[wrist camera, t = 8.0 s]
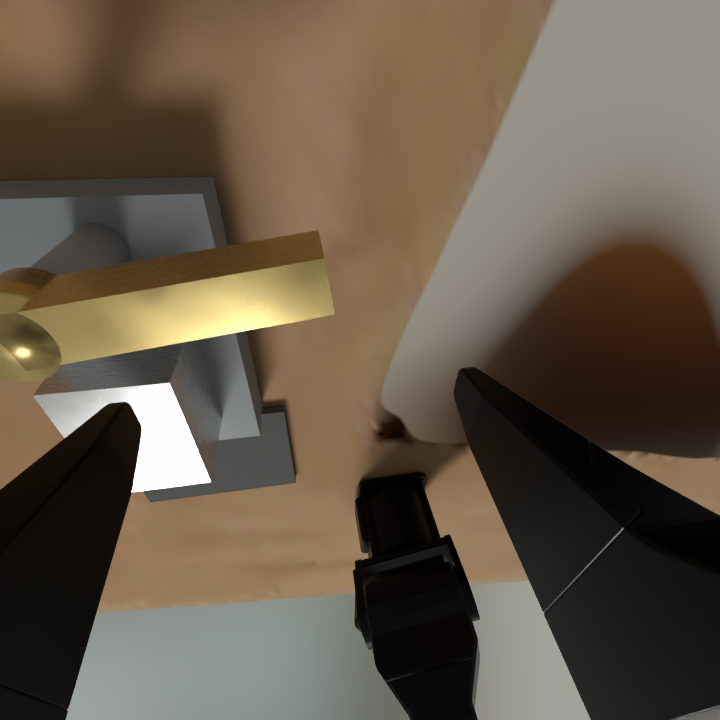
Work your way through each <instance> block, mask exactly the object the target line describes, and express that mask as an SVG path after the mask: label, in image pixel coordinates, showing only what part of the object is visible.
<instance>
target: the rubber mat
mask: <svg viewBox="0 0 720 720" xmlns="http://www.w3.org/2000/svg"><path fill="white" fill-rule="evenodd" d="M290 483H296V477H295V470H294V464H293V458H292V452H291V446H290V440H289V434H288V428H287V422H286V415H285V409H284V406H279V407H270V408H262V413H261V430H260V436H252V437H244V438H235V439H226V440H218V445H217V450H216V456H215V462H214V468H213V474H212V479H211V482H207V483H199V484H192V485H184V486H176V487H169V488H161V489H153V490H145V491H143V492H144V493H145V495H146V496H147V498H148V499H149V501H150V502H157V501H164V500H171V499H179V498H186V497H194V496H201V495H209V494H216V493H224V492H231V491H238V490H246V489H253V488H261V487H268V486H276V485H283V484H290Z"/></svg>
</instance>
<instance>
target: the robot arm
mask: <svg viewBox="0 0 720 720" xmlns="http://www.w3.org/2000/svg"><path fill="white" fill-rule="evenodd" d="M454 398H455V402H456V405H457V408H458V411H459V414H460V418H461V421H462V424H463V427H464V430H465V433H466V437H467V440H468V443H469V446H470V448H471V450H472V453H473V455H474V457H475V460H476V462H477V464H478V466H479V469H480V471H481V473H482V475H483V478H484V480H485V482H486V484H487V487H488V489H489V491H490V493H491V496H492V498H493V500H494V502H495V505H496V507H497V509H498V511H499V514H500V516H501V518H502V520H503V523H504V525H505V527H506V529H507V532H508V534H509V536H510V538H511V541H512V543H513V545H514V547H515V550H516V552H517V554H518V556H519V559H520V561H521V563H522V565H523V568H524V570H525V572H526V574H527V577H528V579H529V581H530V583H531V585H532V588H533V590H534V592H535V595H536V597H537V599H538V601H539V604H540V606H541V608H542V610H543V612H545V613H544V615H545V618H546V620H547V622H548V624H549V627H550V629H551V631H552V633H553V636H554V638H555V640H556V642H557V645H558V647H559V649H560V651H561V653H562V656H563V658H564V660H565V663H566V665H567V667H568V669H569V672H570V674H571V676H572V678H573V680H574V683H575V685H576V687H577V690H578V692H579V694H580V696H581V699H582V701H583V703H584V705H585V707H586V710H587V712H588V714H589V716H590V719H591V720H720V515H718V514H716V513H714V512H712V511H710V510H708V509H707V508H705V507H703V506H701V505H699V504H697V503H696V502H694V501H692V500H690V499H688V498H687V497H685V496H683V495H681V494H679V493H678V492H676V491H674V490H672V489H670V488H669V487H667V486H665V485H663V484H661V483H660V482H658V481H656V480H654V479H652V478H651V477H649V476H647V475H645V474H644V473H642V472H640V471H638V470H637V469H635V468H633V467H631V466H630V465H628V464H626V463H625V462H623V461H621V460H620V459H618V458H617V457H615V456H613V455H612V454H610V453H608V452H607V451H605V450H604V449H602V448H601V447H599V446H597V445H596V444H594V443H593V442H590V443H589V440H588V439H586V438H585V437H583V436H581V435H580V434H579V433H577V432H575V431H574V430H572V429H571V428H569V427H568V426H566V425H564V424H563V423H561V422H560V421H558V420H557V419H555V418H554V417H552V416H550V415H549V414H547V413H546V412H544V411H542V410H541V409H539V408H538V407H536V406H535V405H533V404H532V403H530V402H529V401H527V400H525V399H524V398H522V397H520V396H519V395H518V394H516V393H514V392H513V391H511V390H510V389H508V388H507V387H505V386H503V385H501V384H500V383H499V382H497V381H496V380H494V379H493V378H491V377H489V376H488V375H486V374H485V373H483V372H482V371H480V370H479V369H477V368H474V367H470V368H462V369H460V370H459V372H458V375H457V379H456V384H455V388H454ZM141 434H142V427H141V424H140V422H139V420H138V418H137V416H136V414H135V412H134V411H133V409H132V407H131V405H130V404H129V403H127V402H117V403H110V404H107V405H106V406H104V407H103V408H102V409H101V410H99V411H98V412H97V413H96V414H94V415H93V416H92V417H91V418H89V419H88V420H87V421H86V422H84V423H83V424H82V425H81V426H79V427H78V428H77V429H76V430H74V431H73V432H72V433H71V434H69V435H68V436H67V437H66V438H64V439H63V440H62V441H61V442H59V443H58V444H57V445H56V446H54V447H53V448H52V449H51V450H49V451H48V452H47V453H46V454H44V455H43V456H42V457H41V458H39V459H38V460H37V461H36V462H34V463H33V464H32V465H31V466H29V467H28V468H27V469H26V470H24V471H23V472H22V473H21V474H19V475H18V476H17V477H16V478H14V479H13V480H12V481H11V482H9V483H8V484H7V485H6V486H4V487H3V488H2V489H1V490H0V720H65V719H66V716H67V713H68V711H67V710H66V709H68V707H69V704H70V701H71V698H72V694H73V691H74V688H75V684H76V680H77V677H78V674H79V670H80V667H81V664H82V660H83V657H84V653H85V650H86V647H87V643H88V639H89V636H90V633H91V629H92V626H93V622H94V619H95V616H96V612H97V609H98V606H99V602H100V599H101V595H102V592H103V589H104V585H105V582H106V578H107V575H108V571H109V568H110V565H111V561H112V558H113V554H114V551H115V548H116V544H117V541H118V537H119V534H120V530H121V527H122V524H123V520H124V517H125V513H126V510H127V506H128V503H129V500H130V496H131V492H132V488H133V483H134V477H135V471H136V465H137V459H138V453H139V447H140V441H141ZM425 483H426V475H425V474H424V473H417V474H409V475H402V476H395V477H388V478H380V479H373V480H366V481H362V482H360V484H359V497H358V498H356V500H355V516H356V522H357V528H358V535H359V541H360V547H361V552H363V553H368V557H369V558H368V559H364V560H361V559H360V560H357V561H355V568H356V569H354V570H353V576H354V583H355V626H356V628H357V629H358V630H359V631H361V632H362V635H363V637H364V640H365V643H366V645H367V647H368V649H369V650H371V649H373V653H374V659H375V665H376V668H377V670H378V671H379V673H380V674H381V676H382V677H383V679H384V680H385V681H386V683H387V685H388V686H389V688H390V689H391V690H392V692H393V693H394V695H395V696H396V698H397V699H398V701H399V702H400V703H401V705H402V707H403V708H404V710H405V711H406V713H407V714H408V715H409V717H410V720H478V719H477V716H476V712H475V698H476V690H477V681H478V672H479V663H480V653H479V646H478V639H477V635H476V632H475V629H474V626H473V623H472V621H476V620H480V617H479V613H478V610H477V606H476V603H475V600H474V597H473V594H472V591H471V588H470V585H469V582H468V580H467V577H466V574H465V572H464V569H463V567H462V564H461V562H460V559H459V556H458V554H457V551H456V549H455V546H454V544H453V541H452V538H451V536H450V534H449V535H445V536H444V537H442V538H440V535H439V532H438V529H437V526H436V523H435V520H434V517H433V514H432V511H431V508H430V505H429V502H428V499H427V496H426V493H425V490H424V488H425Z"/></svg>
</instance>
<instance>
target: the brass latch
mask: <svg viewBox="0 0 720 720" xmlns="http://www.w3.org/2000/svg"><path fill="white" fill-rule="evenodd" d="M330 315H335V313H334V308H333V302H332V297H331V291H330V286H329V280H328V275H327V269H326V264H325V258H324V254H323V249H322V244H321V240H320V235H319V231H318V230H317V231H312V232H306V233H300V234H294V235H288V236H282V237H276V238H270V239H265V240H259V241H253V242H247V243H241V244H235V245H229V246H223V247H218V248H212V249H206V250H200V251H194V252H188V253H182V254H176V255H171V256H165V257H159V258H153V259H147V260H141V261H135V262H129V263H124V264H118V265H112V266H106V267H100V268H94V269H88V270H82V271H77V272H71V273H65V274H59V275H56V274H53V273H51V272H48V271H45V270H41V269H36V268H28V267H21V268H14V269H10V270H7V271H5V272H3V273H1V274H0V379H1V380H5V381H12V382H35V381H39V380H43V379H46V378H48V377H50V376H51V375H53V374H54V373H55V372H56V371H57V370H58V369H59V367H60V366H61V365H63V364H69V363H74V362H79V361H85V360H90V359H96V358H101V357H107V356H112V355H118V354H123V353H128V352H134V351H139V350H145V349H150V348H156V347H161V346H166V345H172V344H177V343H183V342H188V341H194V340H199V339H205V338H210V337H215V336H221V335H226V334H232V333H237V332H243V331H248V330H254V329H259V328H264V327H270V326H275V325H281V324H286V323H292V322H297V321H302V320H308V319H313V318H319V317H324V316H330Z"/></svg>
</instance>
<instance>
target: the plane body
mask: <svg viewBox="0 0 720 720" xmlns="http://www.w3.org/2000/svg"><path fill="white" fill-rule="evenodd" d="M223 246H228V243H227V238H226V233H225V229H224V224H223V220H222V215H221V210H220V206H219V201H218V196H217V192H216V187H215V182H214V178H213V176H211V177H163V178H115V179H66V180H18V181H0V274H1V273H3V272H5V271H7V270H10V269H14V268H21V267H28V268H36V269H41V270H45V271H48V272H51V273H53V274H56V275H59V274H65V273H71V272H77V271H82V270H88V269H94V268H100V267H106V266H112V265H118V264H124V263H129V262H135V261H141V260H147V259H153V258H159V257H165V256H171V255H176V254H182V253H188V252H194V251H200V250H206V249H212V248H218V247H223ZM197 343H198V346H199V349H200V352H201V355H202V358H203V361H204V364H205V367H206V370H207V374H208V377H209V380H210V383H211V386H212V389H213V392H214V395H215V398H216V401H217V404H218V407H219V411H220V414H221V417H222V421H221V427H220V433H219V439H218V440H226V439H235V438H244V437H252V436H260V430H261V413H262V401H261V396H260V391H259V387H258V382H257V377H256V373H255V368H254V363H253V359H252V354H251V349H250V345H249V340H248V336H247V331H243V332H237V333H232V334H226V335H221V336H215V337H210V338H205V339H199V340H197Z"/></svg>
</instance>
